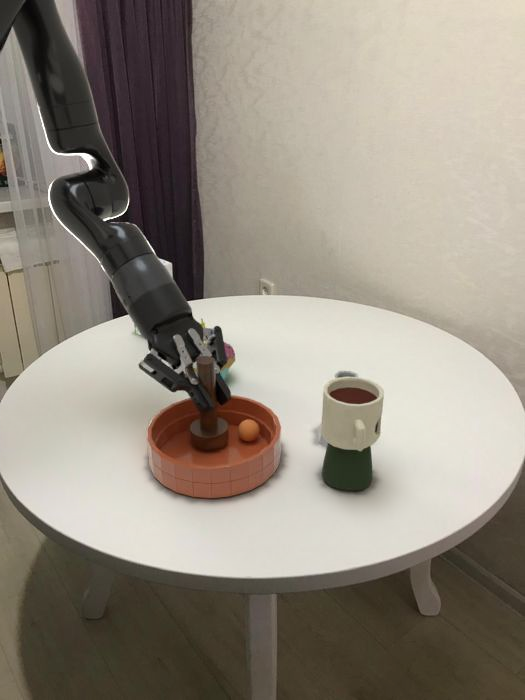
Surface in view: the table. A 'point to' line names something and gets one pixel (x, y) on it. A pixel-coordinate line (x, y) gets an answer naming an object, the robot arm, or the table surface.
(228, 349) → the cupcake
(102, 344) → the table surface
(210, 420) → the brown peg stand
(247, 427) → the ball
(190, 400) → the bowl
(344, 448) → the character mug
